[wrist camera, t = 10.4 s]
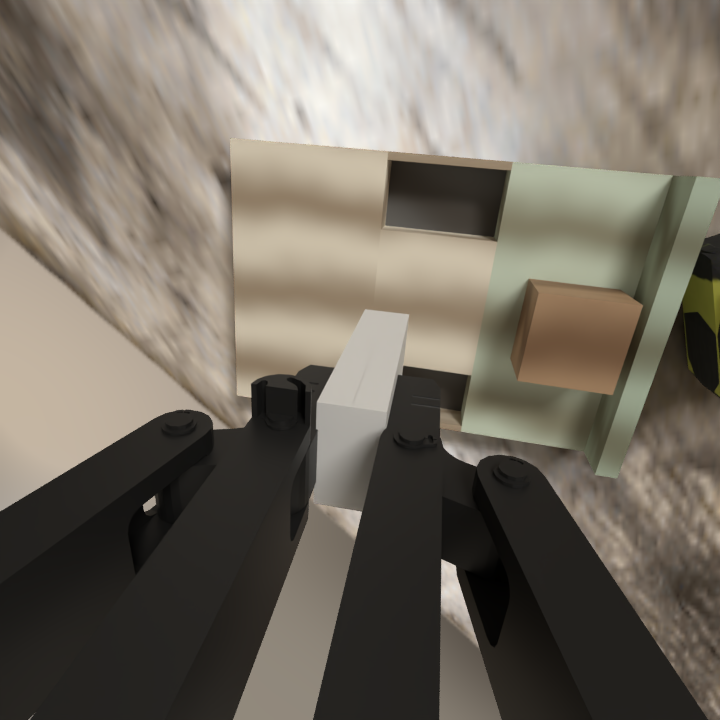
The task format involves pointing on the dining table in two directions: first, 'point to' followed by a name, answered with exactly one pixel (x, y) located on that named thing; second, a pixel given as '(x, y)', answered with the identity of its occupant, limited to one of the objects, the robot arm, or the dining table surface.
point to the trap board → (458, 273)
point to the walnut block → (573, 335)
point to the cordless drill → (704, 316)
